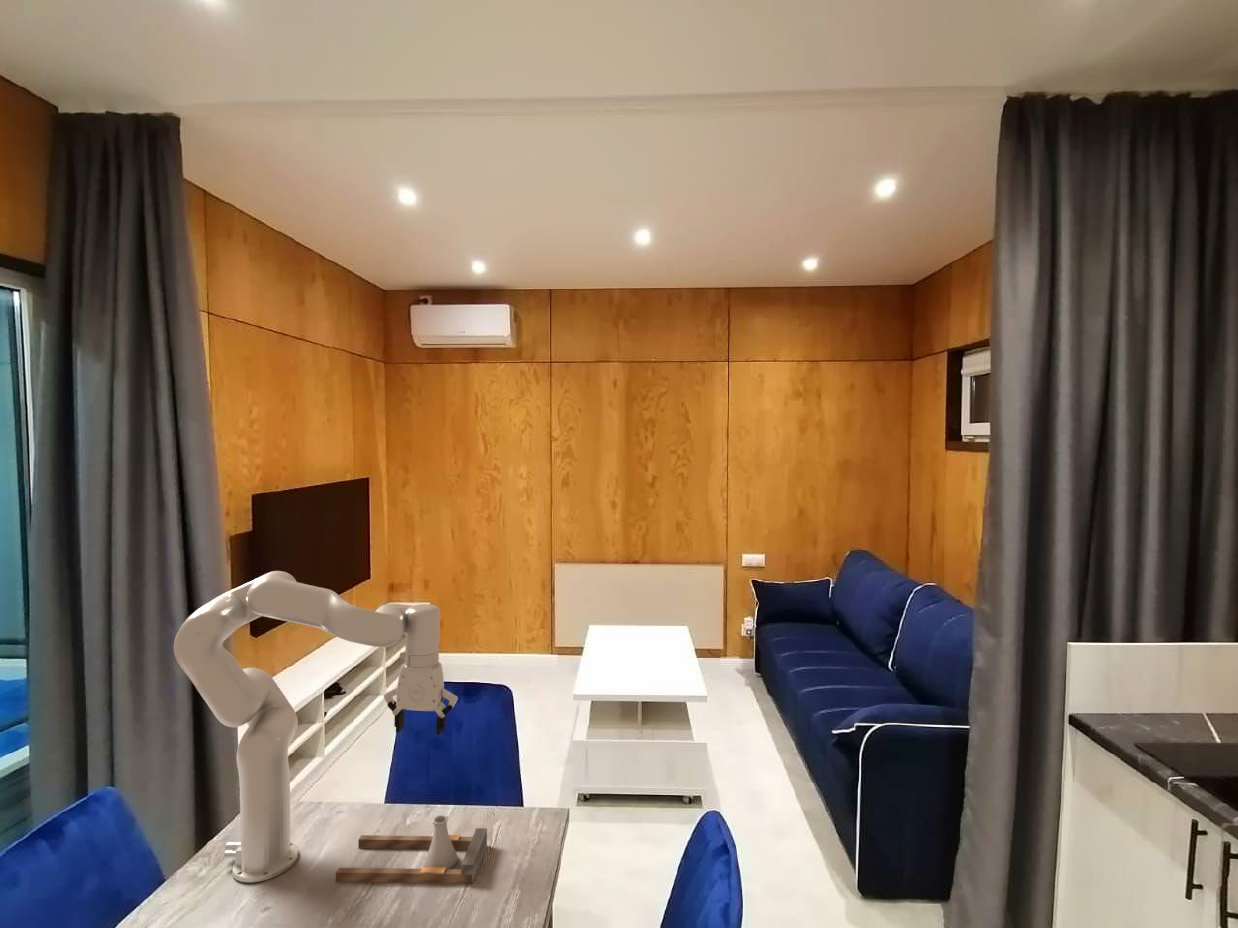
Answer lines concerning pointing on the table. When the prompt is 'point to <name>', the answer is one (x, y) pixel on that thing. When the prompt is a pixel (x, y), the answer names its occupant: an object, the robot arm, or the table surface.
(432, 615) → the robot arm
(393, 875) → the guide channel
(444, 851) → the flask
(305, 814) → the table surface
